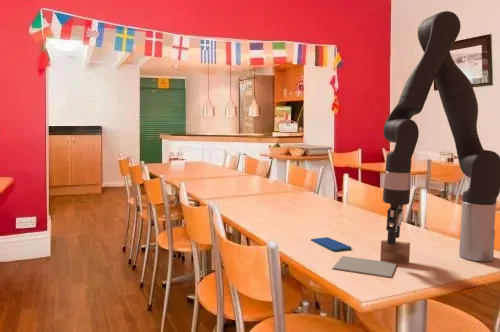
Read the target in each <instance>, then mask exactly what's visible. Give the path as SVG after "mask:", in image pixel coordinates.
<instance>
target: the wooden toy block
mask: <svg viewBox="0 0 500 332" xmlns="http://www.w3.org/2000/svg"><path fill="white" fill-rule="evenodd" d="M410 250H411V242H407V241H399V240H396V243H395V245H391V244H388V243H387V239H381V240H380V259H379V261H383V262H391V263H397V264H403V265H409V264H410V255H411V254H410V252H411V251H410Z"/></svg>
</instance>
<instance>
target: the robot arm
mask: <svg viewBox="0 0 500 332" xmlns="http://www.w3.org/2000/svg"><path fill="white" fill-rule="evenodd" d="M460 32H461V21H460V18H459V17H458V15H457V14H456V13H455V12H452V11H448V10H444V11H440V12H437V13H435V14H434V15H431V16H430V17H429V16H428V17H427V18H425V19H424V20H422V21H421V22H420V24H419V25H418V27H417V38H418V42H419V45H420V46H421V49H422V51H423V55H422V57H421V58H420V60H419V62H418V63H417V64H416V65H415V67H414V69H413V70H412V72H411V73H410V74H409V77H408V78H407V80H406V82H405V84H404V87H403V89H402V92H401V94H400V97H399V100H398V102H397V104H396V105H395V107H394V108H393V110H392V111H391V112H390V114H389V115H388V117H387V118H386V121H385V122H384V125H383V136H384V138H385V140H386V141H387V142H389V143H394V144H395V145H394V149H393V150H392V151H389V152H388V153H387V154H386V160H385V172H384V173H385V174H384V178H383V193H382V201H383V203H385V204H388V205H390V207H389V208H387V211H386V213H387V217H386V228H385V229H386V231H387V239H386V240H387V243H388V244H391V245H395V243H396V241H397V240H396V239H399V238H400V234H401V233H400V232H401V225H402V222H403V214H404V209H403V207H404V206H405V205H409V204H410V200H411V196H410V195H411V188H412V187H411V185H412V178H411V177H412V176H411V172H412V171H411V169H412V158H413V155H414V152H415V149H416V146H417V144H418V139H419V135H420V133H419V132H420V131H419V127H418V125H417V123H416V122H415V121H414V120H413V119H412V118H413V116H416V115H419V114H420V113H421V112H422V111H423V109H424V106H425V104H426V101H427V99H428V96H429V93H430V91H431V87H432V86H433V83H435V85H436V88H437V91H438V94H439V98H440V102H441V104H442V108H443V110H444V113H445V117H446V119H447V122H448V125H449V128H450V131H451V134H452V137H453V140H454V144H455V150H456V155H457V159H458V160H457V161H458V165H459V168H460V170H461V172H462V173H463V174H464V176H466V177H468V178H470V181H469V187H468V189H467V190H465V191H463V193H462V198H461V200H462V201H461V213H460V214H461V216H460V217H461V218H460V230H459V231H460V234H459V247H458V248H459V249H458V255H459V257H460V258H463V259H465V260H469V261H474V262H491V263H492V262H494V255H495V254H494V253H495V237H496V230H495V228H496V227H495V226H496V225H495V224H496V212H497V211H496V210H497V209H496V208H497V199H498V197H499V195H500V155H499V154H498V153H497V152H495V151H493V150H489V149H488V150H487V149H484V147H483V146H482V143H481V140H480V137H479V134H478V127H477V125H478V119H479V118H478V116H479V104H478V100H477V95H476V93H475V90H474V87H473V84H472V81H470V79H469V78H468V76H467V75H466V74H465V73H464V71H462V69H461V68H460V67H459V66H458V65H457V64H456V62H455V61H454V59H453V56H452V54H451V52H450V50H451V49H452V47H453V46H454V43H455V42H456V40H457V38H458V36H459V35H460ZM434 81H435V82H434Z"/></svg>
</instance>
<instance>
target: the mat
mask: <svg viewBox="0 0 500 332" xmlns="http://www.w3.org/2000/svg"><path fill="white" fill-rule="evenodd" d="M397 265H398V263H394V262H387V261H380V260H375V259H374V260H373V259H368V258H361V257H354V256H353V257H352V256H346V255H342V256H341V257H340V258H339V260H338V261H337V262H336V263H335V264H334V265H333V266H332V270H336V271H342V272H349V273H357V274H363V275H369V276H376V277H383V278H392V277H393V274H394V272H395V271H396V268H397Z"/></svg>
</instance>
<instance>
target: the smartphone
mask: <svg viewBox="0 0 500 332" xmlns="http://www.w3.org/2000/svg"><path fill="white" fill-rule="evenodd" d="M310 241H311V242H313V243H314V244H317V245H319V246H321V247H322V248H325V249H326V250H329V251H331V252H342V251H350V250H351V251H352V246H350V245H347V244H345V243H342V242H340V241H337V240H336V239H333V238H331V237H318V238H317V237H316V238H310Z"/></svg>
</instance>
